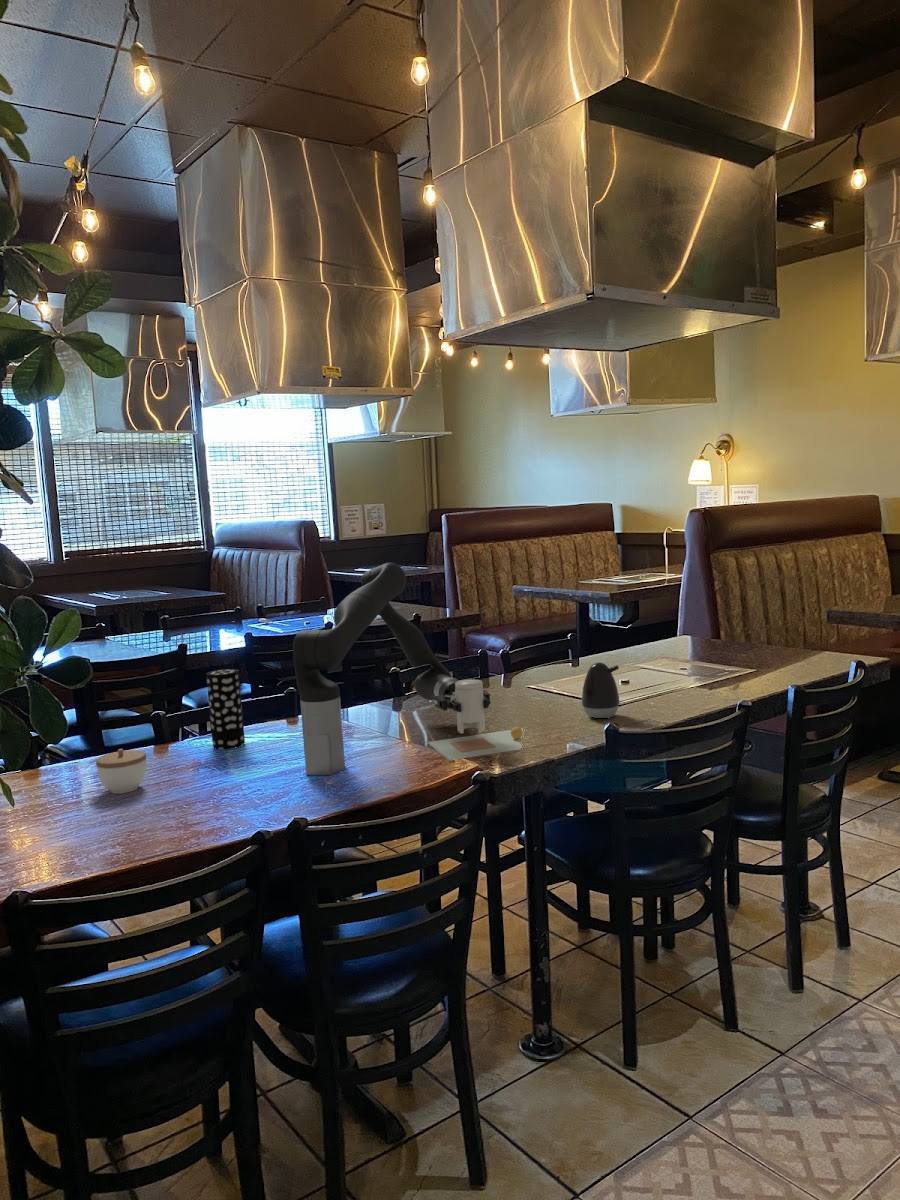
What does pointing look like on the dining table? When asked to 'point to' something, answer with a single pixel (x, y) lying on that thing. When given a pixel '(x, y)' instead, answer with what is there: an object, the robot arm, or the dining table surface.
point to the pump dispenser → (600, 692)
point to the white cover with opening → (470, 705)
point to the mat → (477, 745)
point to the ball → (516, 733)
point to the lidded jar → (122, 770)
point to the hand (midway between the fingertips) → (473, 706)
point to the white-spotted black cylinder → (225, 708)
